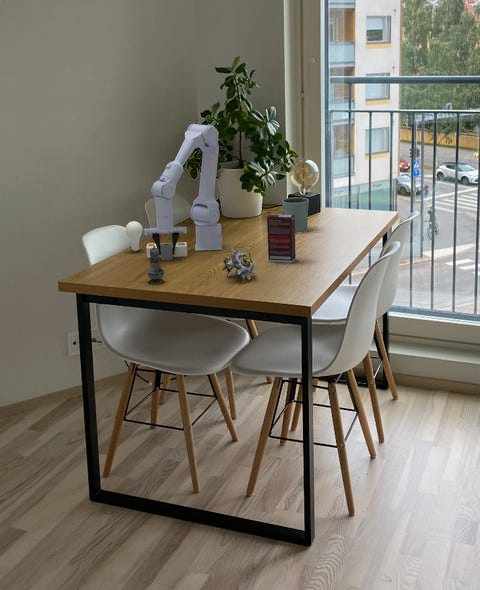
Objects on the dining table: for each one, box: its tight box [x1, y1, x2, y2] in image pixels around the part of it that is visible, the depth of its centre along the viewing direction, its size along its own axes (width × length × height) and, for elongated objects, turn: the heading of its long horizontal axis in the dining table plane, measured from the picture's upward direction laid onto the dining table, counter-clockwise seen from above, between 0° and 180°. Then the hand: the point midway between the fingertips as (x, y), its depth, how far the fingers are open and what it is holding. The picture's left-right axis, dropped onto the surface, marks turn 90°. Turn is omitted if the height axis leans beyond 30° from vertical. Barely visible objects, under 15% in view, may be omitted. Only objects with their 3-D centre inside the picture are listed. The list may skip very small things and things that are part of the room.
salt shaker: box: [146, 246, 166, 285], centre depth 282 cm, size 6×6×12 cm
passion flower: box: [222, 247, 256, 281], centre depth 284 cm, size 11×11×12 cm
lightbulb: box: [125, 220, 144, 252], centre depth 320 cm, size 6×6×11 cm
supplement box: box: [266, 213, 297, 264], centre depth 301 cm, size 9×5×16 cm, turn 71°
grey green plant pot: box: [281, 196, 310, 234], centre depth 343 cm, size 10×10×12 cm
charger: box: [160, 242, 174, 262], centre depth 310 cm, size 4×6×5 cm
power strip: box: [146, 241, 188, 259], centre depth 315 cm, size 14×6×4 cm, turn 94°
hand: (166, 254), depth 310 cm, fingers closed on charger, 4 cm apart
